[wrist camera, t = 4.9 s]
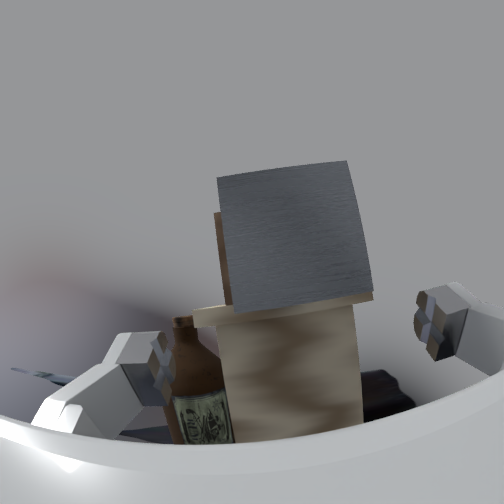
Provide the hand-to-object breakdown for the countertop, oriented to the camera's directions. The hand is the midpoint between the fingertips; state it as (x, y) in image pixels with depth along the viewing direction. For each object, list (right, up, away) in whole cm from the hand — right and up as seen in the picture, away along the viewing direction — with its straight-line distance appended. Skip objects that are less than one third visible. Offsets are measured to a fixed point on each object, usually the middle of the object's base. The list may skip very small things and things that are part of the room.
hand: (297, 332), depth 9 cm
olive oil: (-7, -31, +28) cm, 43 cm away
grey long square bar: (0, 0, +8) cm, 8 cm away
